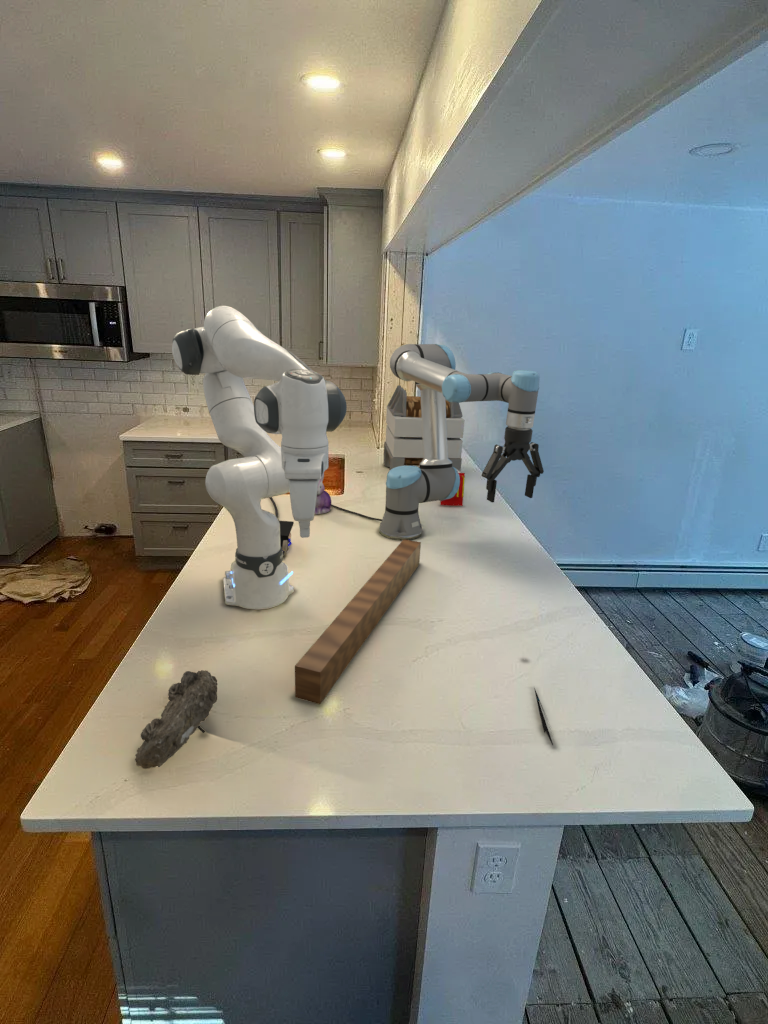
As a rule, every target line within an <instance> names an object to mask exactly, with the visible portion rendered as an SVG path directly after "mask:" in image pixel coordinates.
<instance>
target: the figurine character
mask: <svg viewBox="0 0 768 1024" xmlns="http://www.w3.org/2000/svg"><path fill="white" fill-rule="evenodd" d="M294 522H295V521H289V520H279V523H280V546H281V547H282V552H283V556H285V553H286V552H288V551H289V547H290V546H292V545H293V542H292V533H291V532H292V529H293V526H294V524H295V523H294Z"/></svg>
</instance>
